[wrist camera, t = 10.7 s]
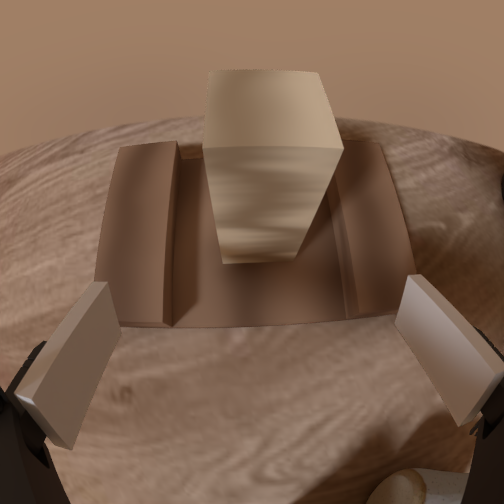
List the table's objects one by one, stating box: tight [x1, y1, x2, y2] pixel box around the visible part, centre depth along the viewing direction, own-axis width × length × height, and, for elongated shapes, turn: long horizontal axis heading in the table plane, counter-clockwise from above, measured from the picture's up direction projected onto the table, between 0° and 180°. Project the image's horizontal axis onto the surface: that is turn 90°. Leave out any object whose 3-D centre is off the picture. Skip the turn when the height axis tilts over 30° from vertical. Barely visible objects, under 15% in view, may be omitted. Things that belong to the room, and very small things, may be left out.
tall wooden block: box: [202, 70, 344, 264], centre depth 16 cm, size 5×5×12 cm
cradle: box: [94, 140, 417, 328], centre depth 21 cm, size 22×14×3 cm, turn 93°
